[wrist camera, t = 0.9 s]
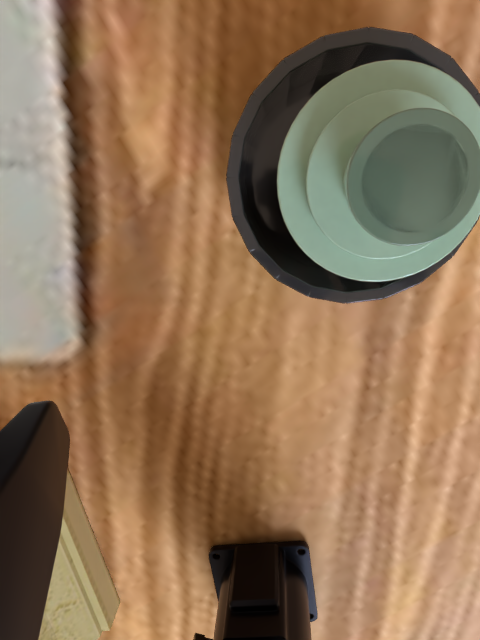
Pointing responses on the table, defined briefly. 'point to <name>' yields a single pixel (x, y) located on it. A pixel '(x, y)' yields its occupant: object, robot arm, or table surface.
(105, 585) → the decorative clock
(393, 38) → the cup
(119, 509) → the table surface
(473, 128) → the bottle
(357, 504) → the table surface
